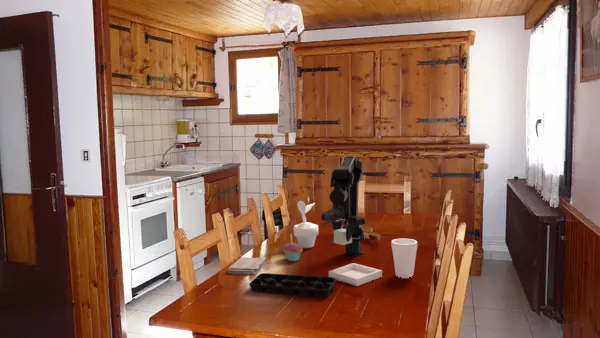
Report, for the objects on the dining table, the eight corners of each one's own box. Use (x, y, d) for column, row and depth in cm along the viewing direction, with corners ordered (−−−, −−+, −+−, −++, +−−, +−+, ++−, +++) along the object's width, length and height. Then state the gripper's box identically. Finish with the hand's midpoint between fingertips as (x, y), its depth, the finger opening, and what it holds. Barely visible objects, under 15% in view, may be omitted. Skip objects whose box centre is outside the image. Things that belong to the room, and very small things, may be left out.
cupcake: (300, 262, 207) (299, 234, 206) (280, 262, 209) (279, 233, 208) (304, 257, 215) (303, 229, 214) (285, 256, 217) (284, 229, 216)
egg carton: (335, 300, 165) (335, 289, 165) (246, 299, 168) (245, 288, 167) (335, 282, 183) (335, 272, 182) (254, 282, 185) (254, 272, 185)
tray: (353, 269, 196) (353, 263, 196) (382, 276, 186) (382, 270, 186) (328, 277, 187) (328, 271, 187) (357, 286, 177) (357, 279, 176)
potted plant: (305, 251, 225) (304, 196, 222) (289, 246, 233) (287, 193, 231) (325, 246, 233) (324, 192, 230) (309, 241, 242) (307, 190, 239)
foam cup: (418, 272, 190) (418, 239, 189) (416, 280, 181) (415, 245, 180) (393, 270, 193) (393, 237, 192) (389, 278, 184) (389, 243, 183)
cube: (342, 240, 200) (342, 228, 199) (351, 242, 196) (351, 230, 195) (333, 242, 196) (333, 230, 196) (343, 244, 193) (342, 232, 192)
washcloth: (226, 275, 194) (226, 267, 194) (240, 262, 212) (239, 255, 212) (256, 276, 192) (256, 268, 192) (267, 262, 210) (267, 255, 210)
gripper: (311, 200, 196) (311, 239, 198) (345, 205, 182) (346, 247, 184) (331, 197, 204) (331, 235, 205) (365, 202, 190) (366, 242, 191)
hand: (343, 240), depth 196 cm, fingers closed on cube, 5 cm apart
